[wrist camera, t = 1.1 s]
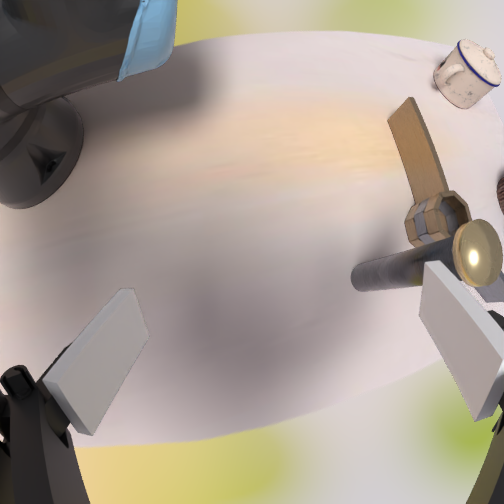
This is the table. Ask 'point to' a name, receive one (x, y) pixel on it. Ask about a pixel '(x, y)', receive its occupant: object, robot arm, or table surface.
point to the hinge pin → (446, 250)
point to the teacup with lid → (467, 74)
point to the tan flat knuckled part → (424, 174)
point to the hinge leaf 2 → (500, 288)
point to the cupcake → (501, 193)
